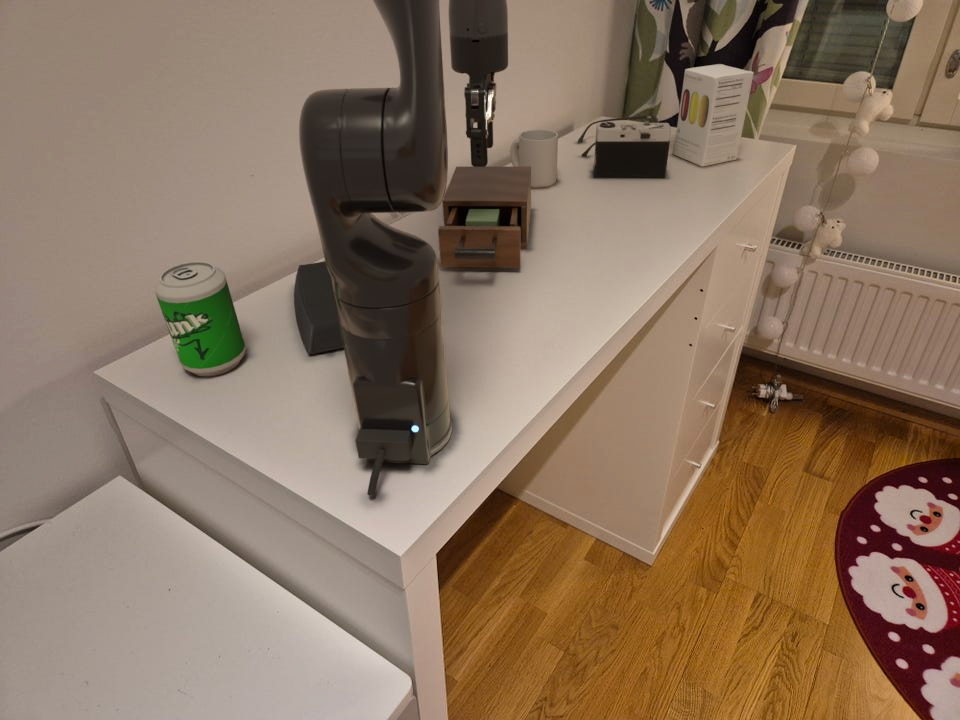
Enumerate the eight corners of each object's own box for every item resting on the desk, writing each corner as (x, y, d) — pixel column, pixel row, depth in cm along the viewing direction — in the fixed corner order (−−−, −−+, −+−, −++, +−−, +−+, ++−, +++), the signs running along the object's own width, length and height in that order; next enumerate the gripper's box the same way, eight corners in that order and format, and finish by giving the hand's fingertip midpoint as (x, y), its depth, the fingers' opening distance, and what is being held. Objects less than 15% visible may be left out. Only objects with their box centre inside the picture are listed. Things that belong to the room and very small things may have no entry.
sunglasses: (576, 138, 149) (577, 115, 146) (651, 136, 148) (654, 113, 145) (582, 161, 136) (584, 137, 133) (665, 160, 135) (668, 135, 132)
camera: (666, 165, 132) (672, 114, 126) (665, 182, 125) (671, 129, 119) (596, 162, 135) (599, 112, 129) (591, 179, 128) (594, 127, 122)
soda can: (225, 338, 84) (199, 252, 77) (260, 358, 79) (236, 269, 73) (170, 365, 79) (137, 276, 72) (205, 388, 75) (173, 296, 68)
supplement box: (671, 154, 137) (682, 68, 128) (706, 147, 140) (720, 62, 131) (702, 167, 130) (716, 76, 121) (738, 159, 133) (755, 70, 124)
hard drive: (380, 272, 97) (377, 246, 95) (408, 338, 82) (405, 310, 80) (291, 287, 94) (285, 261, 92) (302, 359, 79) (296, 330, 77)
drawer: (518, 287, 90) (517, 247, 87) (434, 285, 91) (431, 246, 88) (524, 227, 107) (525, 192, 103) (454, 226, 108) (452, 191, 105)
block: (500, 237, 101) (497, 250, 97) (470, 237, 101) (467, 250, 98) (499, 209, 98) (497, 221, 95) (469, 208, 99) (465, 220, 95)
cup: (542, 191, 122) (543, 142, 117) (500, 181, 128) (499, 134, 123) (563, 180, 127) (565, 133, 122) (521, 170, 132) (521, 125, 127)
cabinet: (526, 249, 102) (527, 200, 98) (445, 248, 103) (442, 200, 99) (530, 210, 115) (531, 166, 111) (458, 209, 116) (456, 166, 112)
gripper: (457, 23, 91) (463, 142, 100) (441, 39, 79) (449, 172, 88) (511, 22, 90) (512, 142, 99) (503, 38, 78) (505, 172, 87)
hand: (482, 156), depth 93 cm, fingers open, 8 cm apart
